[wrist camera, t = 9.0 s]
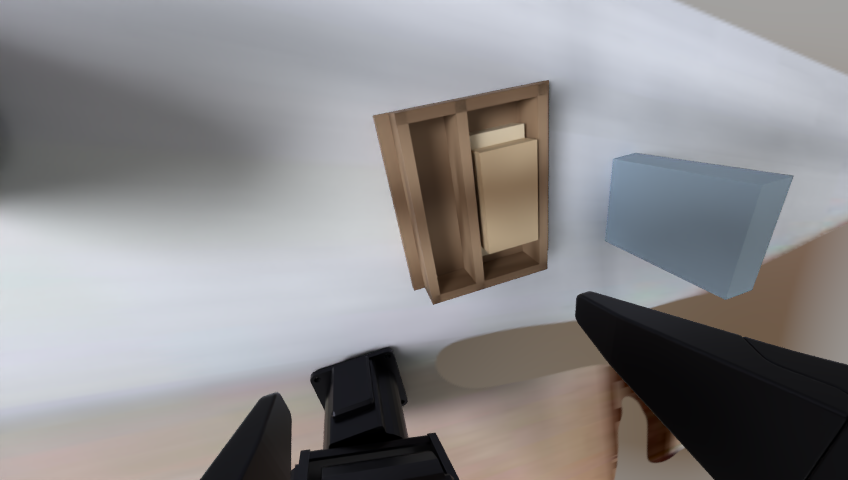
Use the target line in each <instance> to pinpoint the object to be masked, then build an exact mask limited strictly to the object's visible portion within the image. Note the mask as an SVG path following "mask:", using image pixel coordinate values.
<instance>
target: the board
mask: <svg viewBox="0 0 848 480" xmlns="http://www.w3.org/2000/svg"><path fill="white" fill-rule="evenodd" d="M792 179H793V176H792V175H785V174H778V173H771V172H764V171H757V170H750V169H743V168H736V167H729V166H722V165H715V164H708V163H701V162H694V161H687V160H680V159H673V158H666V157H659V156H652V155H646V154H639V153H634V154H630V155H626V156H622V157H618V158H614V159H613V165H612V175H611V185H610V196H609V206H608V217H607V227H606V237H605V241H606V242H609V243H611V244H613V245H615V246H617V247H619V248H621V249H623V250H625V251H627V252H629V253H631V254H633V255H635V256H637V257H639V258H641V259H643V260H645V261H647V262H649V263H651V264H653V265H655V266H657V267H659V268H662V269H664V270H666V271H668V272H670V273H672V274H674V275H676V276H678V277H680V278H682V279H684V280H686V281H688V282H690V283H692V284H694V285H696V286H698V287H700V288H702V289H704V290H706V291H708V292H710V293H713V294H715V295H717V296H719V297H721V298H723V299H725V300H726V299H729V298H732V297H734V296H737V295H740V294H743V293H745V292H748V291H751V290H752V289H753V286H754V283H755V280H756V278H757V275H758V272H759V269H760V267H761V264H762V261H763V259H764V256H765V253H766V250H767V248H768V245H769V242H770V239H771V237H772V234H773V231H774V228H775V226H776V223H777V220H778V217H779V215H780V212H781V209H782V206H783V204H784V201H785V198H786V195H787V193H788V190H789V187H790V184H791V182H792Z"/></svg>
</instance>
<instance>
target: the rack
mask: <svg viewBox="0 0 848 480" xmlns="http://www.w3.org/2000/svg"><path fill="white" fill-rule="evenodd" d="M373 118H374V123H375V127H376V131H377V136H378V140H379V144H380V148H381V153H382V157H383V161H384V166H385V170H386V174H387V178H388V183H389V187H390V191H391V196H392V200H393V204H394V208H395V213H396V217H397V221H398V226H399V230H400V234H401V238H402V243H403V247H404V251H405V256H406V260H407V264H408V268H409V273H410V277H411V281H412V286H413V288H414V291H415V290H418V289H421V288H425V289H426V291H427V293H428V295H429V297H430V299H431V301H432V303H433V305H434V304H437V303H440V302H443V301H446V300H450V299H453V298H456V297H459V296H462V295H465V294H469V293H472V292H475V291H478V290H481V289H485V288H488V287H491V286H494V285H497V284H501V283H504V282H507V281H510V280H513V279H517V278H520V277H523V276H526V275H529V274H532V273H536V272H539V271H542V270H545V269H547V250H548V176H549V80H547V81H541V82H536V83H531V84H526V85H521V86H516V87H511V88H506V89H501V90H496V91H492V92H487V93H482V94H477V95H472V96H467V97H462V98H457V99H452V100H447V101H442V102H438V103H433V104H428V105H423V106H418V107H413V108H408V109H403V110H398V111H393V112H388V113H384V114H379V115H374V116H373ZM510 123H522V124H524V136H525V138H531V139H537V167H538V240H536V241H532V242H529V243H526V244H522V245H519V246H516V247H512V248H509V249H505V250H502V251H499V252H495V253H492V254H488V255H484V256H482V251H481V241H480V232H479V223H478V213H477V204H476V194H475V185H474V175H473V166H472V156H471V147H470V137H469V133H470V132H474V131H479V130H483V129H488V128H492V127H497V126H501V125H505V124H510Z"/></svg>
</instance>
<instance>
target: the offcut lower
mask: <svg viewBox="0 0 848 480" xmlns="http://www.w3.org/2000/svg"><path fill="white" fill-rule="evenodd" d="M469 137H470V147H471V150H474V149H478V148H482V147H487V146H491V145H495V144H499V143H504V142H508V141H512V140H517V139H521V138H525V136H524V124H522V123H510V124H505V125H501V126H497V127H492V128H488V129H483V130H479V131H474V132H470V133H469ZM481 251H482V256H484V255H488V254H489V253H488V252H487V251H486V250H485V249H483V248H482V247H481Z"/></svg>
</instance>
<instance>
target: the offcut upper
mask: <svg viewBox="0 0 848 480" xmlns="http://www.w3.org/2000/svg"><path fill="white" fill-rule="evenodd" d="M471 156H472V166H473V175H474V185H475V194H476V204H477V213H478V223H479V232H480V241H481V247H482V248H483V249H485V250H486V251H487V252H488V253H489V254H492V253H495V252H499V251H502V250H505V249H509V248H512V247H516V246H519V245H522V244H526V243H529V242H532V241H536V240H538V167H537V139H531V138H521V139H517V140H512V141H508V142H504V143H499V144H495V145H491V146H487V147H482V148H478V149H474V150H471Z"/></svg>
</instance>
